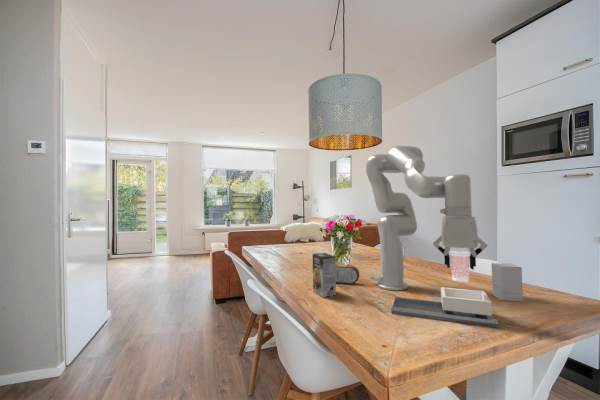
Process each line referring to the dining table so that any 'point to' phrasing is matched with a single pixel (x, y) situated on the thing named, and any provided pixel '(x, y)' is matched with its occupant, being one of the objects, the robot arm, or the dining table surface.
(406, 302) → the track
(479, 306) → the cart
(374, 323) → the dining table surface
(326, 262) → the coffee box
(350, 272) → the tin
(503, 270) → the supplement box
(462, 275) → the beverage cup
